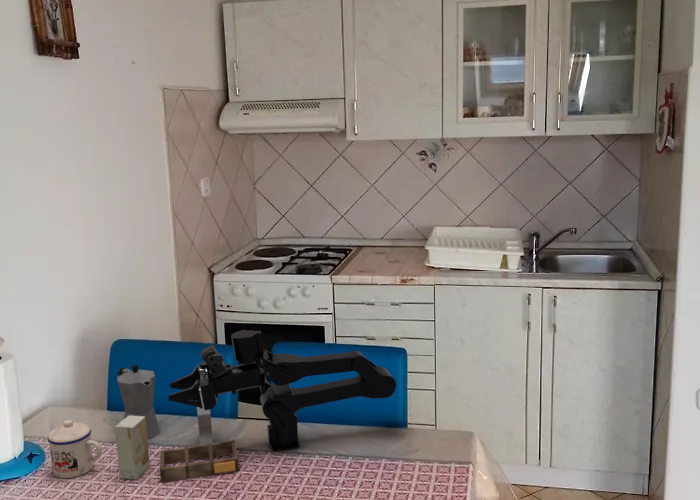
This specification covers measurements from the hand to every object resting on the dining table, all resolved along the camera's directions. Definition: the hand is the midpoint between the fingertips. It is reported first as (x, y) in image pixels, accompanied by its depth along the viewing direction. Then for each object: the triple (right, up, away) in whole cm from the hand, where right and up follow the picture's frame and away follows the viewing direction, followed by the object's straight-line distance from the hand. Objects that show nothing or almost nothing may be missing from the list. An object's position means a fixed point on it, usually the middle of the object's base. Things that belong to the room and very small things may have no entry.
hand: (169, 391), depth 157 cm
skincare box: (-7, -18, -2) cm, 19 cm away
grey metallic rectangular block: (+6, -14, +12) cm, 19 cm away
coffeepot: (-12, -14, +18) cm, 25 cm away
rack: (+7, -17, -1) cm, 18 cm away
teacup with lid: (-20, -18, 0) cm, 27 cm away
